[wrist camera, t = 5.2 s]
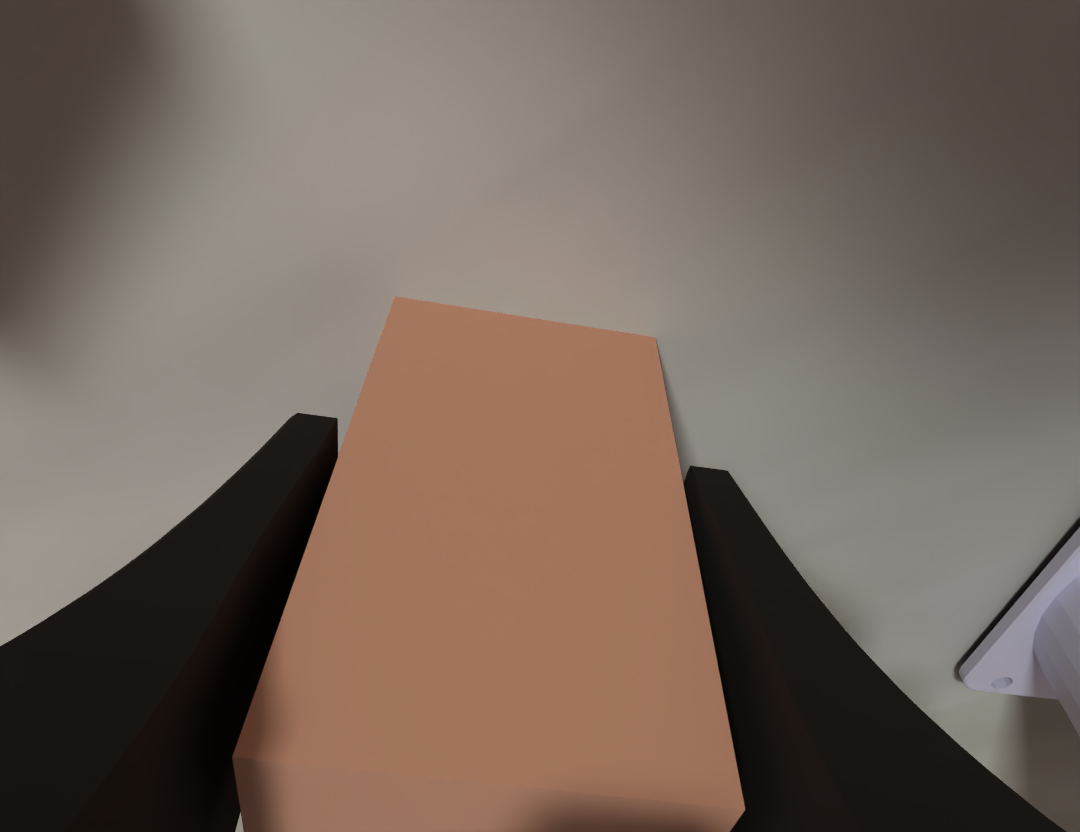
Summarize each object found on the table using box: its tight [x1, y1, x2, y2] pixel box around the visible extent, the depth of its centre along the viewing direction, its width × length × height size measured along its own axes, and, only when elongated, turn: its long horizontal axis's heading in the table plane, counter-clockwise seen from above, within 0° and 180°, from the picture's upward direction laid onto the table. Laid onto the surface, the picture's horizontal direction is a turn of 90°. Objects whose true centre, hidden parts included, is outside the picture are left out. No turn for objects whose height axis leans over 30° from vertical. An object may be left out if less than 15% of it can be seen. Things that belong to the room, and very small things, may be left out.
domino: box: [232, 297, 745, 832], centre depth 11 cm, size 5×2×9 cm, turn 80°
